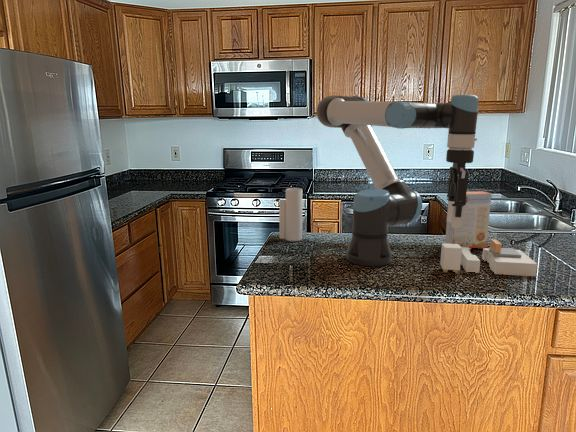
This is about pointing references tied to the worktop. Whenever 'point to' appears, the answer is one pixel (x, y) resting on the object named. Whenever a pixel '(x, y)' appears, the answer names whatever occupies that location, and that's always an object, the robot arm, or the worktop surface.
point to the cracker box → (472, 222)
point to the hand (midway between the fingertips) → (453, 224)
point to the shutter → (502, 250)
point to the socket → (499, 263)
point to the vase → (291, 215)
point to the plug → (450, 257)
